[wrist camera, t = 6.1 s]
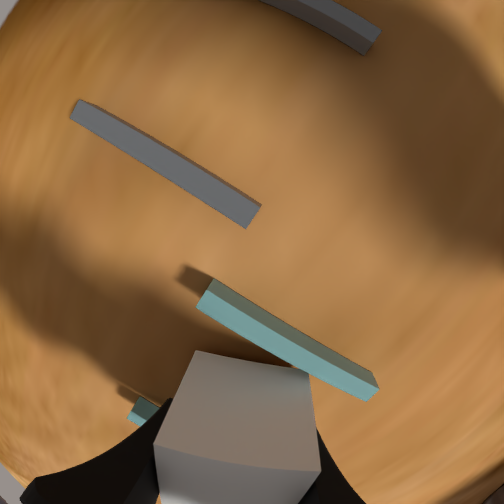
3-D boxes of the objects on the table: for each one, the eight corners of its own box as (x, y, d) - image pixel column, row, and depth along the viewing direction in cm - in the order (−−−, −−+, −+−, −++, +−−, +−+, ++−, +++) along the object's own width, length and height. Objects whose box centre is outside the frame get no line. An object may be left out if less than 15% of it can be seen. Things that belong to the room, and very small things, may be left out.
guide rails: (505, 172, 9) (521, 172, 7) (262, 465, 13) (261, 481, 12) (203, -32, 8) (197, -47, 6) (24, 315, 12) (11, 323, 11)
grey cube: (307, 369, 11) (321, 470, 6) (279, 443, 12) (277, 527, 7) (195, 349, 11) (153, 443, 6) (189, 427, 12) (162, 507, 7)
